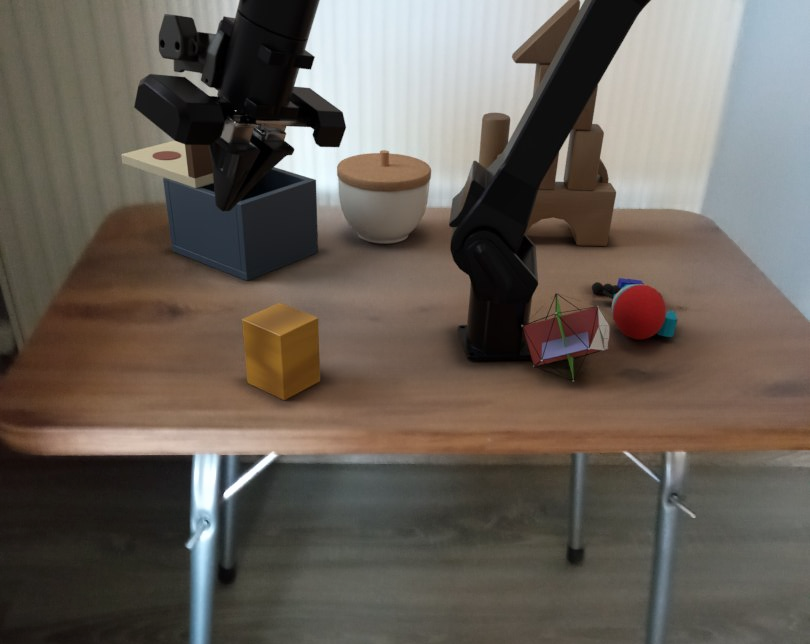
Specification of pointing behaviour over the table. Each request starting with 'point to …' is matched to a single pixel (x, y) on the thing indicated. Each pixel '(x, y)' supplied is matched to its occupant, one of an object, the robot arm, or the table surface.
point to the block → (282, 350)
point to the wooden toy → (584, 171)
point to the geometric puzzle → (566, 336)
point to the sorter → (246, 224)
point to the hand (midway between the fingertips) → (222, 208)
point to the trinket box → (383, 194)
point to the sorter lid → (174, 162)
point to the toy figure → (638, 309)
